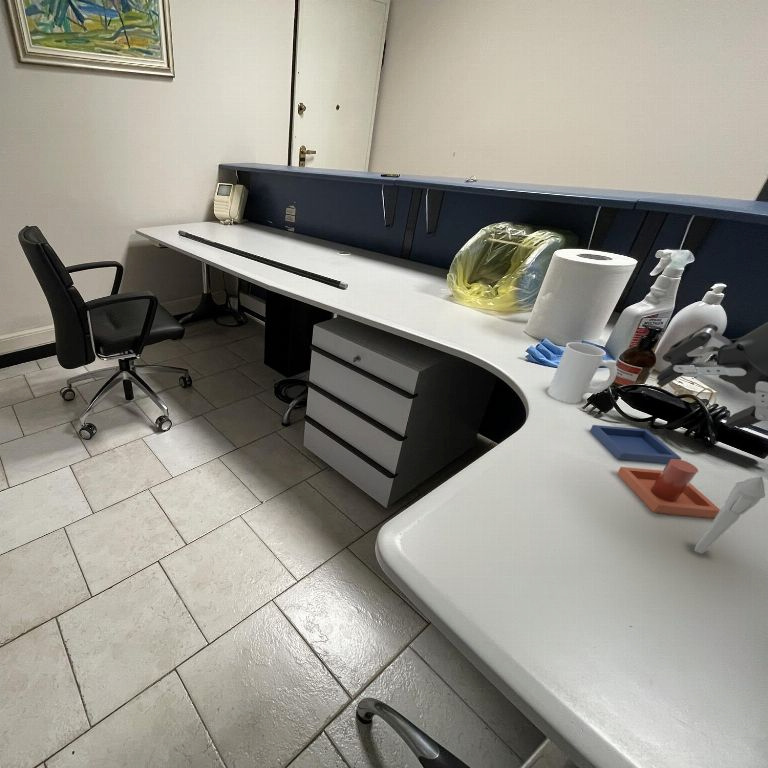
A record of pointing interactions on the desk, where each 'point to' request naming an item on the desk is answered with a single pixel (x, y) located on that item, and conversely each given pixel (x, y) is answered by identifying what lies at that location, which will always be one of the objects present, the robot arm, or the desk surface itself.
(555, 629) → the desk surface
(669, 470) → the red peg
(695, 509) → the terracotta tray
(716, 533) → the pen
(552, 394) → the mug
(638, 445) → the blue tray
